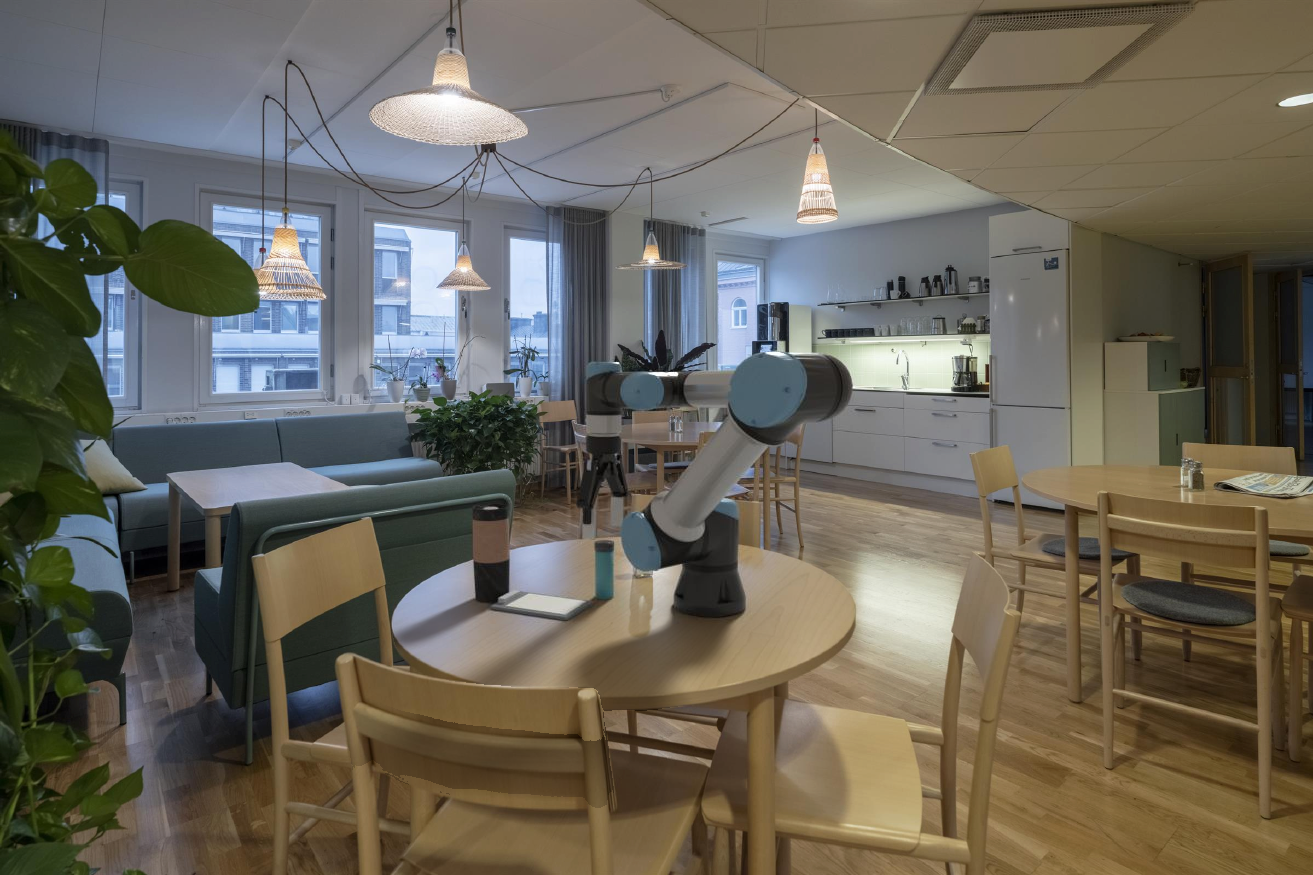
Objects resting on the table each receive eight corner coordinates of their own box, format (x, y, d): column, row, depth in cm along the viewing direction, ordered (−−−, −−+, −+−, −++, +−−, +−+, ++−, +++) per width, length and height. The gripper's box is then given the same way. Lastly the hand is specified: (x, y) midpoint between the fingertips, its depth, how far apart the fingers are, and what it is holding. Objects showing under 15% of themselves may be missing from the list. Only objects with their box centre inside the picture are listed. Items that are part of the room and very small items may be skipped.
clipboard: (592, 603, 155) (592, 596, 154) (567, 620, 144) (567, 612, 144) (519, 593, 161) (519, 586, 161) (490, 608, 151) (490, 601, 151)
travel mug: (501, 604, 154) (499, 510, 152) (467, 602, 155) (465, 509, 154) (515, 593, 161) (514, 503, 159) (483, 591, 163) (481, 502, 161)
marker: (617, 594, 161) (617, 541, 160) (609, 600, 157) (608, 545, 156) (599, 592, 162) (599, 539, 161) (591, 598, 158) (590, 543, 157)
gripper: (612, 429, 169) (612, 519, 171) (559, 439, 146) (559, 543, 148) (642, 430, 166) (642, 522, 169) (592, 440, 143) (592, 547, 146)
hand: (603, 532), depth 159 cm, fingers open, 13 cm apart
